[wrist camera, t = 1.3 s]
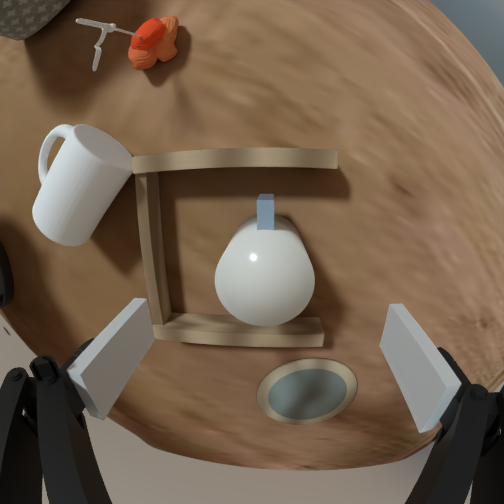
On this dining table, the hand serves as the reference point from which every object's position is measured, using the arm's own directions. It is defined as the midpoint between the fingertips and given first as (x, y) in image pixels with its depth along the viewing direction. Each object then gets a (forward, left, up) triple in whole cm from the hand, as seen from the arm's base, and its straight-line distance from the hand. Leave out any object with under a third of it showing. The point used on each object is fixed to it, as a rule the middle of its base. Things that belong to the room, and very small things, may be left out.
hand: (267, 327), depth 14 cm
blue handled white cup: (0, +1, -15) cm, 15 cm away
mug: (-20, +9, -15) cm, 27 cm away
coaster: (+6, -21, -14) cm, 26 cm away
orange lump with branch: (-12, +22, -15) cm, 29 cm away
